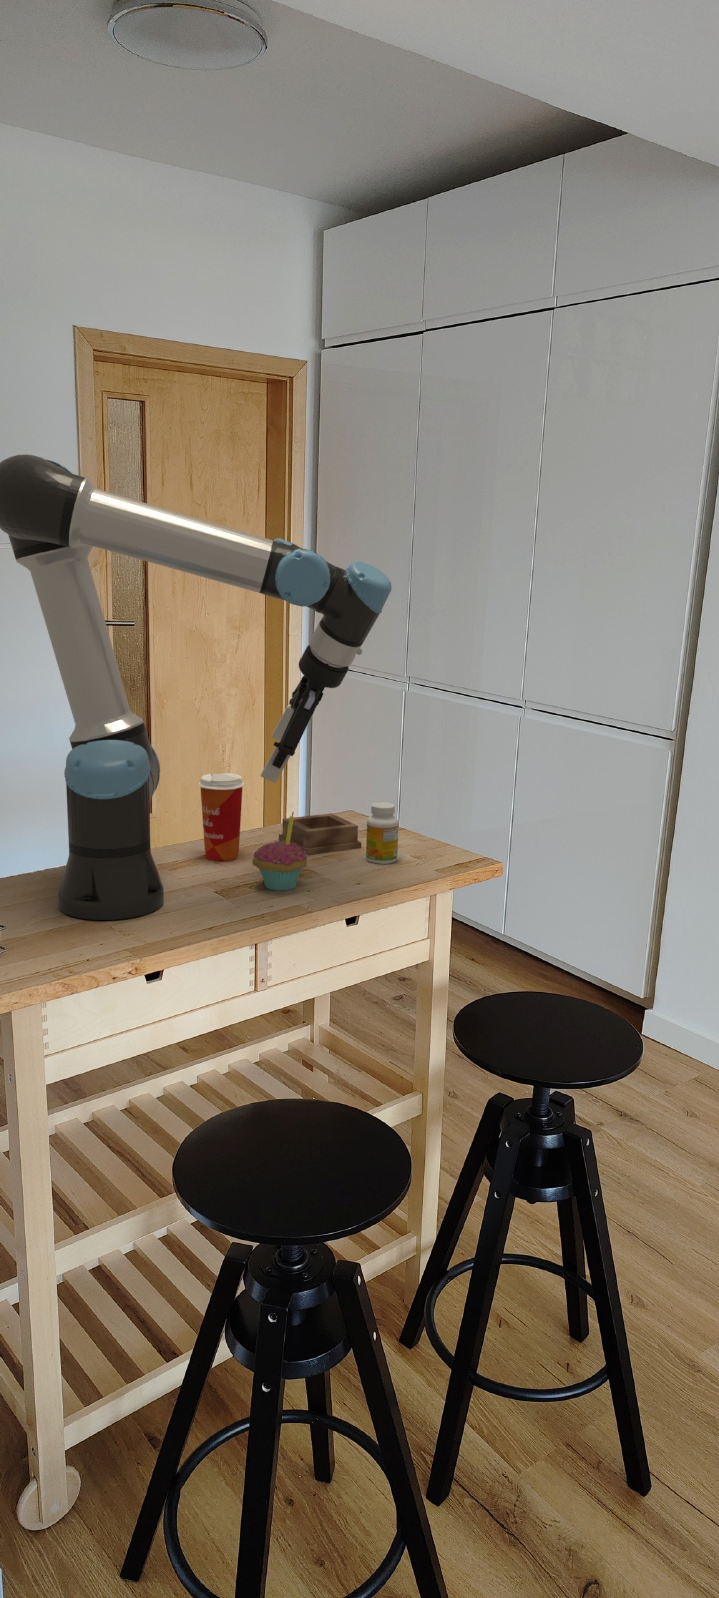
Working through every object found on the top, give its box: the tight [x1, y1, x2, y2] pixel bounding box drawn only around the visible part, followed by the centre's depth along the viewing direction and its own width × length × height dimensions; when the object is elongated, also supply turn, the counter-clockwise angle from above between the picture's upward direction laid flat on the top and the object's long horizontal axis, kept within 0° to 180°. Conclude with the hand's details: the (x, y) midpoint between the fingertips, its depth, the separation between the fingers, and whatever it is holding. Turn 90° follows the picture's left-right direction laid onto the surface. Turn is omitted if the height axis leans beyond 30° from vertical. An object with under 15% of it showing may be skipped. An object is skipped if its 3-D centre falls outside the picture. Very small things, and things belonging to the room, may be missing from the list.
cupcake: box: [251, 811, 308, 892], centre depth 168 cm, size 9×8×12 cm
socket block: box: [278, 812, 362, 856], centre depth 193 cm, size 11×11×4 cm
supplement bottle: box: [365, 801, 399, 865], centre depth 183 cm, size 5×5×10 cm
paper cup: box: [197, 772, 245, 862], centre depth 182 cm, size 8×8×14 cm
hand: (273, 758), depth 181 cm, fingers open, 13 cm apart
